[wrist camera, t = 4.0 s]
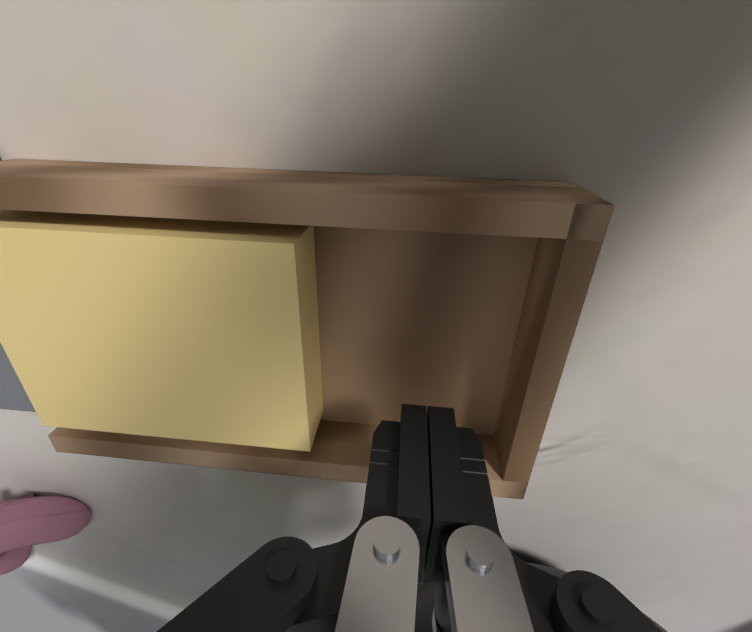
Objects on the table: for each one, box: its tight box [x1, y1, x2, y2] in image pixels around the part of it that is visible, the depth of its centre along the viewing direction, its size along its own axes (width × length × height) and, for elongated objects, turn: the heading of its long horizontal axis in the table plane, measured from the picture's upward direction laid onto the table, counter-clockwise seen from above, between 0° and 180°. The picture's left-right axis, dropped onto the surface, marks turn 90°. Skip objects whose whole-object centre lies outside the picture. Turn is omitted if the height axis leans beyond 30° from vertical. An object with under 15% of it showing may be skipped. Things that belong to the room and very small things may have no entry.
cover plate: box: [0, 209, 323, 452], centre depth 16 cm, size 12×9×2 cm
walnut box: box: [0, 159, 614, 499], centre depth 16 cm, size 21×12×4 cm, turn 89°
